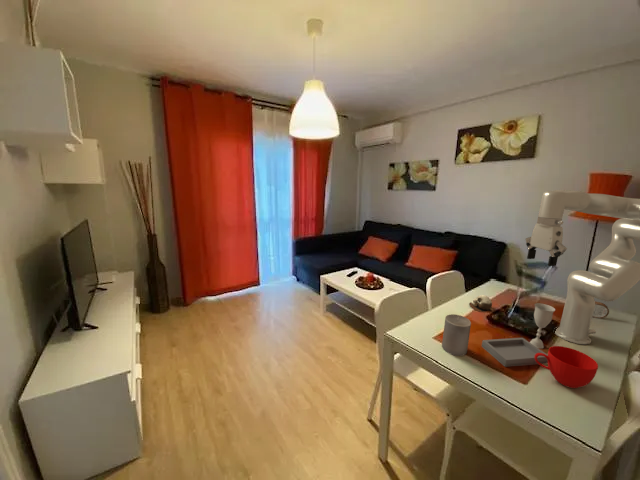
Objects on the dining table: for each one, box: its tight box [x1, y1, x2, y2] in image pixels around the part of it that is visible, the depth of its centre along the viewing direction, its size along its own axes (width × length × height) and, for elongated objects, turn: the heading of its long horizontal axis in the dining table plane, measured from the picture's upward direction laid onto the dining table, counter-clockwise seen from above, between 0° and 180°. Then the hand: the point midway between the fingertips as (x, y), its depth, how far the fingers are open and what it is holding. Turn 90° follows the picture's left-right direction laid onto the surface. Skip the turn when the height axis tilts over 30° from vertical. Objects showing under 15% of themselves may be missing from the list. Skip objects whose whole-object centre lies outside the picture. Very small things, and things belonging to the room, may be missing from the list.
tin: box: [592, 301, 610, 319], centre depth 144 cm, size 15×3×8 cm, turn 58°
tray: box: [481, 337, 548, 368], centre depth 112 cm, size 19×13×3 cm
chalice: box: [529, 302, 556, 349], centre depth 117 cm, size 7×7×18 cm
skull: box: [468, 294, 494, 313], centre depth 153 cm, size 12×10×10 cm
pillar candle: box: [441, 314, 472, 357], centre depth 114 cm, size 10×10×15 cm
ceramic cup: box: [534, 345, 599, 389], centre depth 97 cm, size 13×17×10 cm
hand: (540, 262), depth 114 cm, fingers open, 9 cm apart
